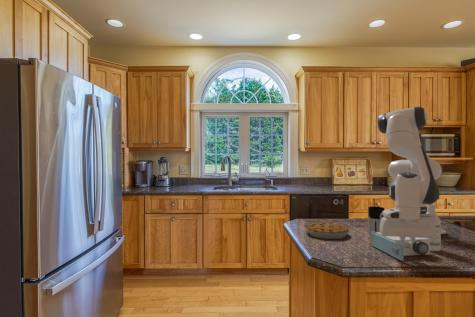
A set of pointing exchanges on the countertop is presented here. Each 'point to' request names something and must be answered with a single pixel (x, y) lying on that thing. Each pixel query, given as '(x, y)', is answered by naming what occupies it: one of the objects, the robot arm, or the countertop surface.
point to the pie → (327, 230)
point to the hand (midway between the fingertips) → (407, 247)
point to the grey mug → (374, 219)
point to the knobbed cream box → (413, 245)
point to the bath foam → (436, 242)
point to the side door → (388, 246)
